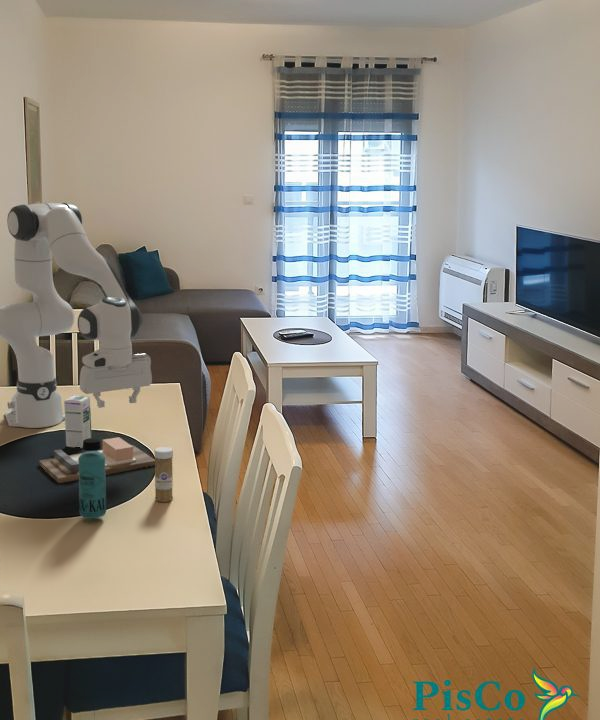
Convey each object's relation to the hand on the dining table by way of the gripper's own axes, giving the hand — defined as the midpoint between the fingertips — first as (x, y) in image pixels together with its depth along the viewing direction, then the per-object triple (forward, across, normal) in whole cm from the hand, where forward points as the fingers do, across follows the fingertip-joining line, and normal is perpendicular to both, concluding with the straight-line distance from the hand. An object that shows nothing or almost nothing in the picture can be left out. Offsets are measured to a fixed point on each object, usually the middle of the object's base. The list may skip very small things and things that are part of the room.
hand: (117, 404), depth 252 cm
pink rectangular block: (+15, +1, 0) cm, 15 cm away
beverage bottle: (+17, +21, +35) cm, 44 cm away
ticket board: (+17, +6, 0) cm, 18 cm away
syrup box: (+17, +4, -20) cm, 27 cm away
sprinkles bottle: (+17, +1, +32) cm, 36 cm away
